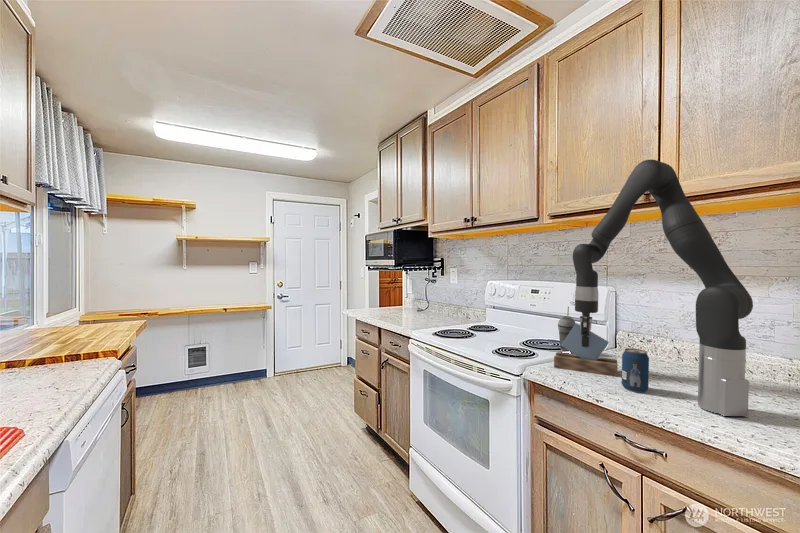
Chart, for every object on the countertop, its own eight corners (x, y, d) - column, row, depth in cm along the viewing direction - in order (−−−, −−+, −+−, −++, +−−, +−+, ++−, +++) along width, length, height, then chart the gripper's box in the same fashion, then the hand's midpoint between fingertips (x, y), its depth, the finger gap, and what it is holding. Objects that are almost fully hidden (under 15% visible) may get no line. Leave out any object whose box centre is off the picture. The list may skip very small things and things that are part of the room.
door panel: (592, 364, 130) (608, 341, 127) (592, 365, 128) (608, 343, 126) (561, 344, 135) (576, 322, 133) (561, 345, 134) (575, 323, 131)
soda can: (638, 385, 114) (639, 347, 114) (653, 393, 107) (654, 353, 107) (616, 385, 114) (617, 347, 114) (630, 393, 107) (631, 353, 107)
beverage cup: (572, 350, 157) (572, 305, 156) (578, 355, 149) (579, 307, 149) (554, 350, 157) (555, 304, 157) (560, 354, 150) (561, 307, 150)
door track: (616, 370, 129) (616, 359, 129) (617, 376, 122) (617, 365, 122) (556, 362, 139) (556, 351, 139) (553, 367, 132) (554, 356, 132)
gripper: (597, 301, 122) (596, 351, 123) (598, 297, 134) (597, 343, 134) (573, 299, 126) (572, 348, 126) (576, 296, 138) (575, 341, 138)
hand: (585, 345), depth 130 cm, fingers closed on door panel, 2 cm apart
